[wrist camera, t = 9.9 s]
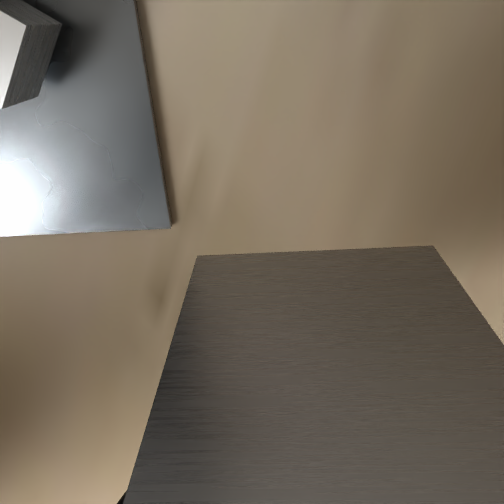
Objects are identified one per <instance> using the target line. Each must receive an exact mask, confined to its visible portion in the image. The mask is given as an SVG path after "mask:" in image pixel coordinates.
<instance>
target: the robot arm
mask: <svg viewBox="0 0 504 504" xmlns="http://www.w3.org/2000/svg"><path fill="white" fill-rule="evenodd" d="M126 492H127V491H126ZM126 492H125V493H124V495H123V496H122V497H121V499H120V500H119V501H118V503H117V504H123V502H124V499H125V496H126Z"/></svg>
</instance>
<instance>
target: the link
mask: <svg viewBox="0 0 504 504" xmlns="http://www.w3.org/2000/svg"><path fill="white" fill-rule="evenodd" d="M123 504H504V345H503V343H502V342H501V341H500V339H499V338H498V336H497V335H496V333H495V332H494V331H493V329H492V328H491V326H490V325H489V324H488V322H487V321H486V319H485V318H484V317H483V315H482V314H481V312H480V311H479V310H478V308H477V307H476V305H475V304H474V303H473V301H472V300H471V298H470V297H469V296H468V294H467V293H466V291H465V290H464V289H463V287H462V286H461V284H460V283H459V281H458V280H457V279H456V277H455V276H454V274H453V273H452V272H451V270H450V269H449V267H448V266H447V265H446V263H445V262H444V260H443V259H442V258H441V256H440V255H439V253H438V252H437V251H436V249H435V248H434V246H416V247H393V248H369V249H346V250H322V251H299V252H276V253H252V254H229V255H206V256H197V259H196V262H195V265H194V269H193V272H192V275H191V279H190V282H189V285H188V289H187V292H186V295H185V299H184V302H183V305H182V309H181V312H180V315H179V319H178V322H177V325H176V329H175V332H174V335H173V339H172V342H171V345H170V349H169V352H168V355H167V359H166V362H165V365H164V369H163V372H162V376H161V379H160V382H159V386H158V389H157V392H156V396H155V399H154V402H153V406H152V409H151V412H150V416H149V419H148V422H147V426H146V429H145V432H144V436H143V439H142V442H141V446H140V449H139V452H138V456H137V459H136V462H135V466H134V469H133V472H132V476H131V479H130V482H129V486H128V489H127V492H126V496H125V499H124V502H123Z"/></svg>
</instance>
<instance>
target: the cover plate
mask: <svg viewBox="0 0 504 504" xmlns="http://www.w3.org/2000/svg"><path fill="white" fill-rule="evenodd" d="M22 1H23V2H25V3H27V4H29V5H30V6H32V7H34V8H36V9H37V10H39V11H41V12H42V13H44V14H46V15H48V16H49V17H51V18H53V19H54V20H56V21H58V22H60V23H61V24H62V26H61V29H60V32H59V35H58V38H57V41H56V44H55V47H54V50H53V53H52V56H51V60H50V63H49V66H48V69H47V72H46V75H45V78H44V81H43V84H42V87H41V90H40V93H39V96H38V97H35V98H33V99H30V100H27V101H24V102H21V103H18V104H16V105H13V106H10V107H7V108H4V109H0V236H22V235H43V234H64V233H86V232H107V231H128V230H150V229H171V227H172V222H171V216H170V210H169V204H168V197H167V191H166V185H165V179H164V173H163V166H162V160H161V154H160V148H159V142H158V135H157V129H156V123H155V117H154V111H153V104H152V98H151V92H150V86H149V80H148V73H147V67H146V61H145V55H144V49H143V43H142V36H141V30H140V24H139V18H138V12H137V5H136V0H22Z"/></svg>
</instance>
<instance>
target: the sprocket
mask: <svg viewBox="0 0 504 504" xmlns="http://www.w3.org/2000/svg"><path fill="white" fill-rule="evenodd" d="M61 26H62V24H61V23H60V22H58V21H56V20H54V19H53V18H51V17H49V16H48V15H46V14H44V13H42V12H41V11H39V10H37V9H36V8H34V7H32V6H30V5H29V4H27V3H25V2H23V1H22V0H0V109H4V108H7V107H10V106H13V105H16V104H18V103H21V102H24V101H27V100H30V99H33V98H35V97H38V96H39V93H40V90H41V87H42V84H43V81H44V78H45V75H46V72H47V69H48V66H49V63H50V60H51V56H52V53H53V50H54V47H55V44H56V41H57V38H58V35H59V32H60V29H61Z"/></svg>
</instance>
